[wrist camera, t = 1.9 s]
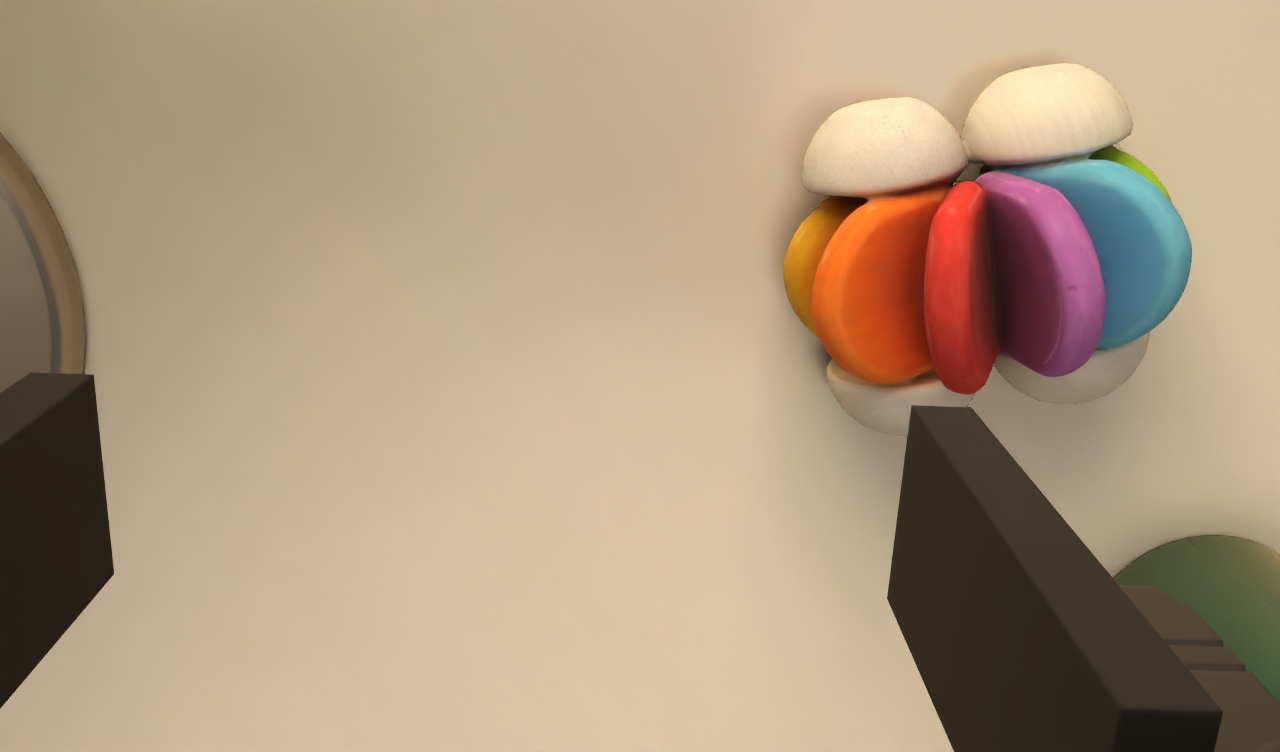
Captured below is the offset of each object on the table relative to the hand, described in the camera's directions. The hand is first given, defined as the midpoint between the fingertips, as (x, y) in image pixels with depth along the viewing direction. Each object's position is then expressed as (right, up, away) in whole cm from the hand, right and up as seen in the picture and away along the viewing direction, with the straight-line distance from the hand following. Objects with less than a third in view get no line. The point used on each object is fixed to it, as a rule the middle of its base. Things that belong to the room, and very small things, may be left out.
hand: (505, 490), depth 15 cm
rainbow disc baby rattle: (+10, +5, +17) cm, 21 cm away
